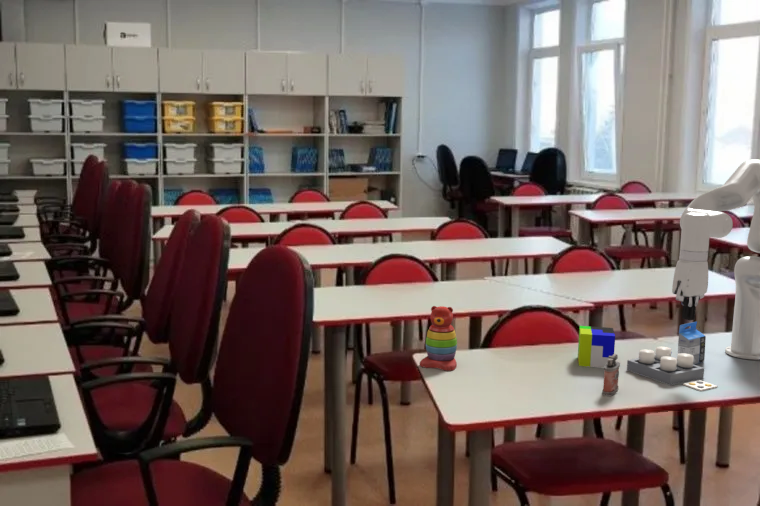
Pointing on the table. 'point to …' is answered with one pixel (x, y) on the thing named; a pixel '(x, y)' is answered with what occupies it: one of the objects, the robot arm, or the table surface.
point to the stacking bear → (441, 340)
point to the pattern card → (700, 385)
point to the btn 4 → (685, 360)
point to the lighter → (611, 376)
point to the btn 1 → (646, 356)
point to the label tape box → (692, 342)
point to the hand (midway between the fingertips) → (688, 319)
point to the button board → (665, 372)
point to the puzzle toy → (595, 345)
